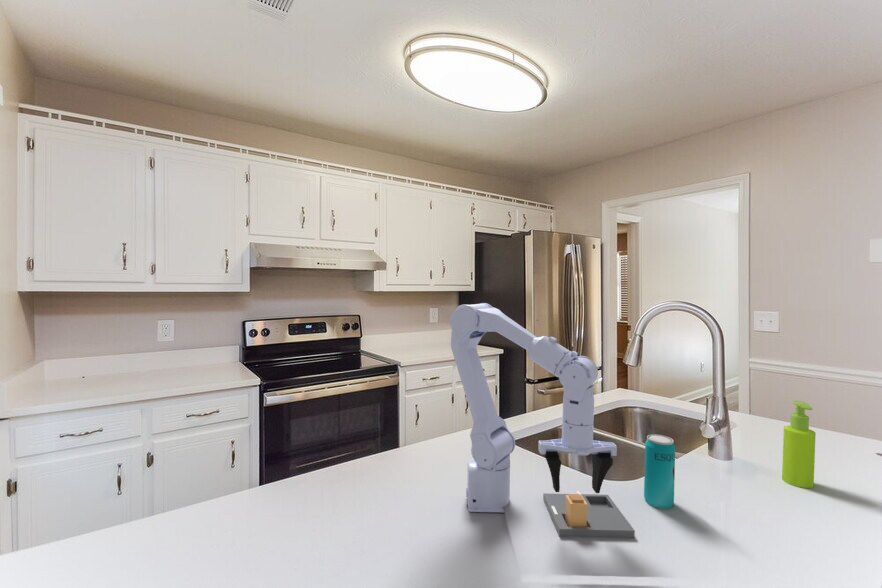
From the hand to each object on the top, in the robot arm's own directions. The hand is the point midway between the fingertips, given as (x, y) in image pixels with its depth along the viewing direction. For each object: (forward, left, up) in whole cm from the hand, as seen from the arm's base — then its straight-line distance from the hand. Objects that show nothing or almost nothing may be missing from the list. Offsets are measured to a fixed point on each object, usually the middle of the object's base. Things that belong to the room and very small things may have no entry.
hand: (575, 490), depth 80 cm
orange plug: (0, 0, -7) cm, 7 cm away
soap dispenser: (+61, +22, -9) cm, 65 cm away
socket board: (+3, +3, -8) cm, 9 cm away
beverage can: (+21, +10, -9) cm, 25 cm away
